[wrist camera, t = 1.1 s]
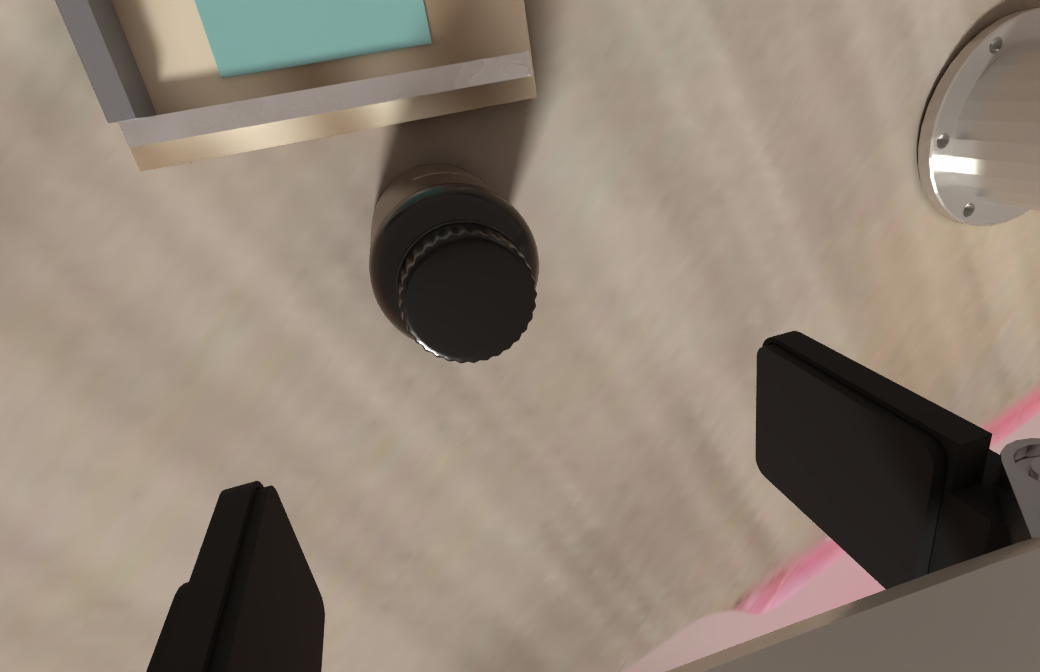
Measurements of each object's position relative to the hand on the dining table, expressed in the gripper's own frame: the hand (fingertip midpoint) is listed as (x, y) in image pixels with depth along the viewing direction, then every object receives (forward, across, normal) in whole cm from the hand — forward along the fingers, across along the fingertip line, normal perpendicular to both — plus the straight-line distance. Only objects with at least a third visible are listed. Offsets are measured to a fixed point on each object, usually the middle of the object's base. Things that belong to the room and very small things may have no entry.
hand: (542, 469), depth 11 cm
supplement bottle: (+22, -1, 0) cm, 22 cm away
